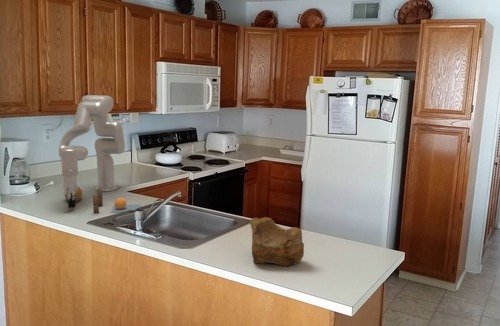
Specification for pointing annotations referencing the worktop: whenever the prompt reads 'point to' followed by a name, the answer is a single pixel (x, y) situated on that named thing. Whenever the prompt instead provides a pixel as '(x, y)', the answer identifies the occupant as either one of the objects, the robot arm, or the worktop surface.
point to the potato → (76, 194)
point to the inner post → (100, 197)
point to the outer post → (95, 204)
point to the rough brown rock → (275, 243)
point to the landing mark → (127, 207)
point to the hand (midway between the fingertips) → (72, 207)
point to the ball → (120, 203)
